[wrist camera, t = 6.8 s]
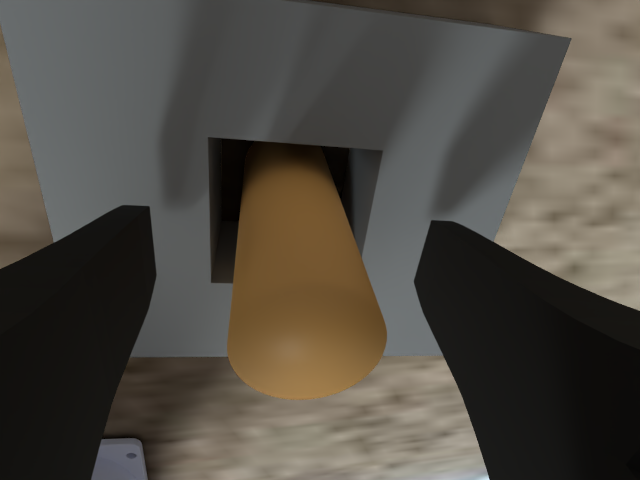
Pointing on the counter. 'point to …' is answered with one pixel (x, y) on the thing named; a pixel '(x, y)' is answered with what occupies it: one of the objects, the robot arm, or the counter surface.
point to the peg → (299, 281)
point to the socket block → (273, 132)
